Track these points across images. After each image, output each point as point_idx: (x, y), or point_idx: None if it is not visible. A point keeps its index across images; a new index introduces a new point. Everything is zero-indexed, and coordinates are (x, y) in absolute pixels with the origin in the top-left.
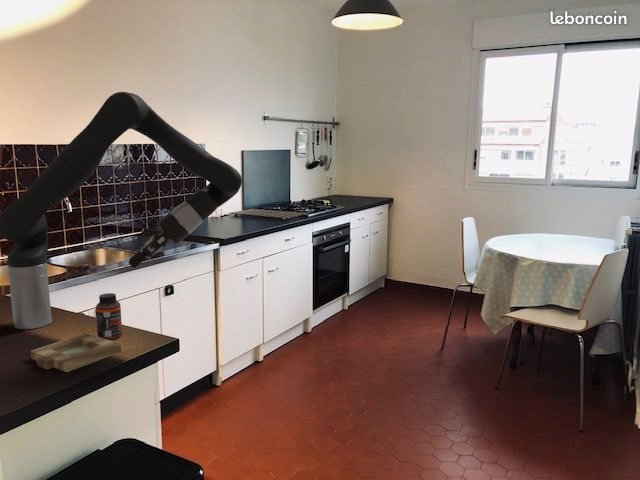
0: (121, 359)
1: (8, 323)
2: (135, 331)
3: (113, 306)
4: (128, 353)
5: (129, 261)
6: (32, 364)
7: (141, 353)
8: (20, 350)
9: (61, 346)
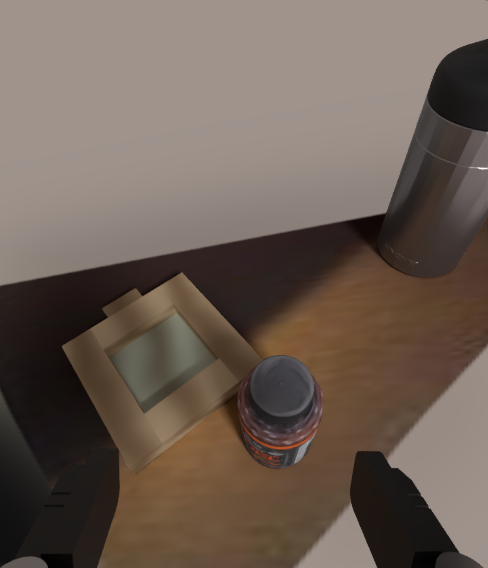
0: None
1: None
2: (312, 518)
3: (244, 419)
4: None
5: (91, 454)
6: None
7: None
8: (244, 258)
9: (188, 322)
